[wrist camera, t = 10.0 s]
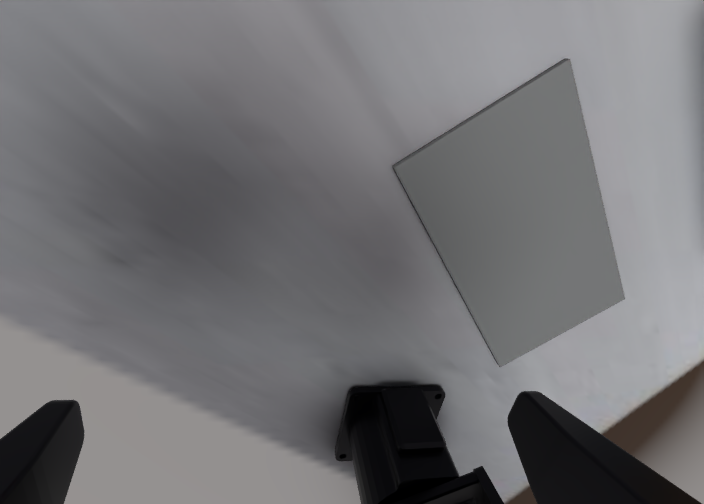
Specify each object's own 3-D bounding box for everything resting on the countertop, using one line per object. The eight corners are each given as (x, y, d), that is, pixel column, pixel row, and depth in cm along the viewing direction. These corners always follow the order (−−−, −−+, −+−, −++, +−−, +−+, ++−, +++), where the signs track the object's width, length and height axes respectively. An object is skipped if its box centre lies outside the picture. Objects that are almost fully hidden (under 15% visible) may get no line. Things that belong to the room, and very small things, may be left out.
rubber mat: (621, 296, 26) (624, 298, 25) (497, 364, 26) (500, 367, 26) (565, 58, 18) (569, 58, 17) (392, 165, 19) (394, 167, 18)
